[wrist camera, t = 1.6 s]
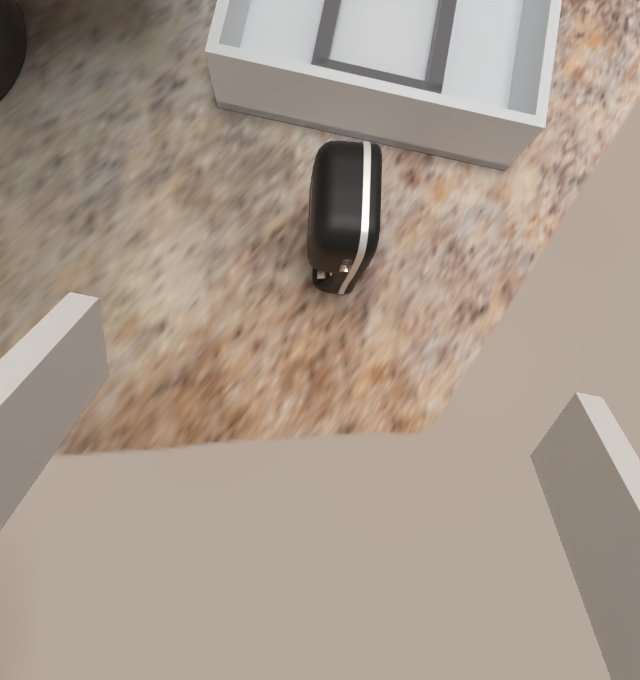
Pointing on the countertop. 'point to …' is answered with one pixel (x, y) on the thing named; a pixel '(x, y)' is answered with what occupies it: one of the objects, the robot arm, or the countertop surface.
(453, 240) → the countertop surface
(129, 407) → the countertop surface
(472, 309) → the countertop surface
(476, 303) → the countertop surface
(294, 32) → the bin
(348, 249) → the battery charger
